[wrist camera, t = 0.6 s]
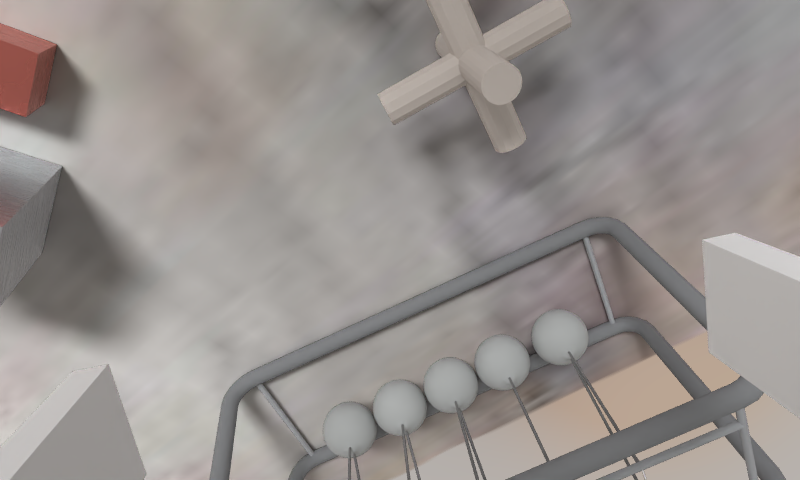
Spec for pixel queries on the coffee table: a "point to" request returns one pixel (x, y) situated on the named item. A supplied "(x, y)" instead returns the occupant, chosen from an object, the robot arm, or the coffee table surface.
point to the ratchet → (24, 70)
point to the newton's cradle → (518, 378)
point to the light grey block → (23, 213)
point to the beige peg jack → (478, 66)
